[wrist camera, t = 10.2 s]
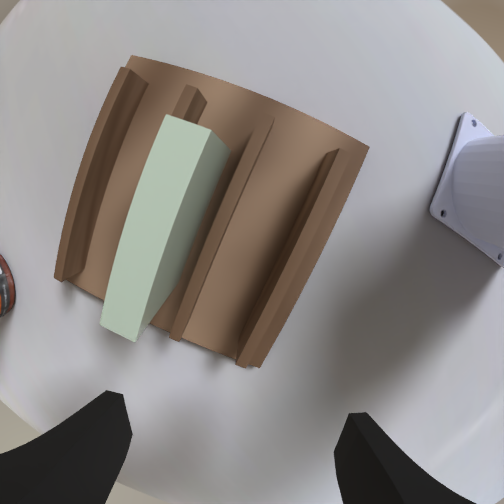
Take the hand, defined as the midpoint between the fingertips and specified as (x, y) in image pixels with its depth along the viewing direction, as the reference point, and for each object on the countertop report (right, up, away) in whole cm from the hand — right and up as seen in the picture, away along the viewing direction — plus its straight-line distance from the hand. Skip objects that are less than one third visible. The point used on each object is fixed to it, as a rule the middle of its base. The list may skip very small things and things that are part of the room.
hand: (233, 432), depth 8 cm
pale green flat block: (-3, +8, +8) cm, 12 cm away
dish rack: (-3, +8, +9) cm, 12 cm away
